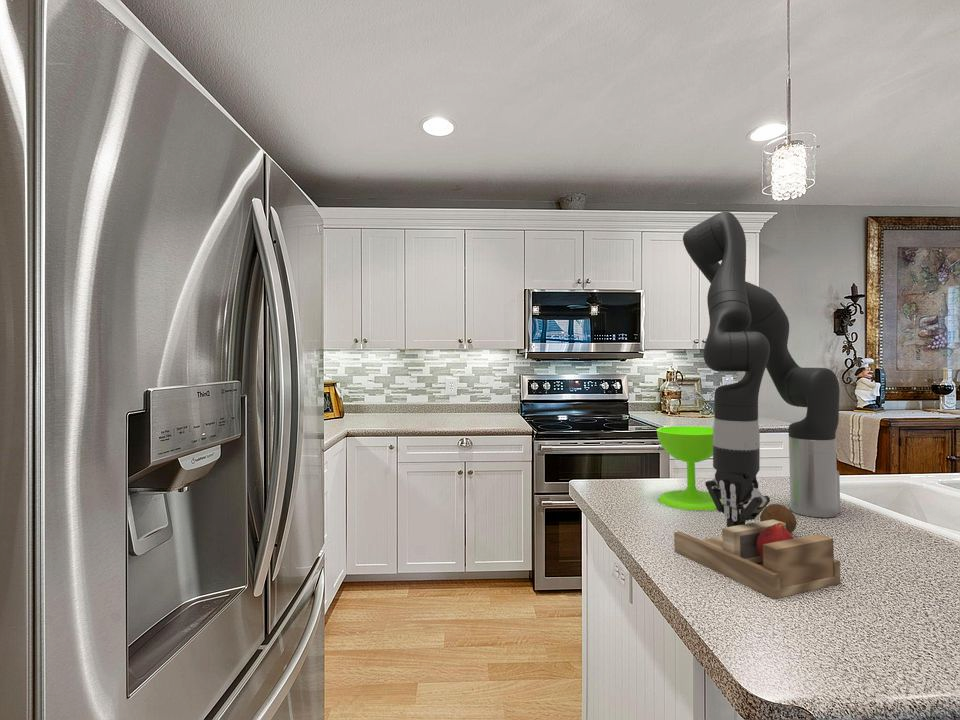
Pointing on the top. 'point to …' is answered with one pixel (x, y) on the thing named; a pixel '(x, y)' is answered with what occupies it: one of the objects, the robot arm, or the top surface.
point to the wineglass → (688, 463)
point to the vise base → (770, 563)
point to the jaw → (745, 539)
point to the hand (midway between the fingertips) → (735, 539)
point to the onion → (772, 536)
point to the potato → (779, 516)
